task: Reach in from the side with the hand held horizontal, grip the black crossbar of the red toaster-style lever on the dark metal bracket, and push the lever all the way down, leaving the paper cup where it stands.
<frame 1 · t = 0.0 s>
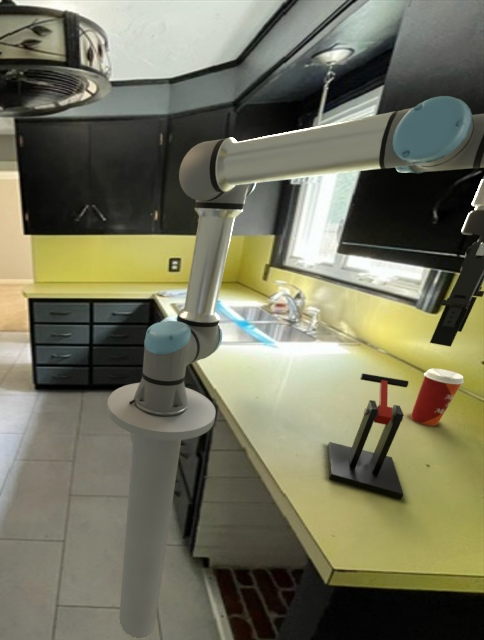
hand: (446, 336, 67), 30 cm above the worktop, tool pointing down, fingers open, 13 cm apart
lever: (383, 398, 76), point 16 cm above the worktop, hinge at 25.0°
paper cup: (423, 420, 99), on the worktop
bracket: (360, 470, 79), on the worktop
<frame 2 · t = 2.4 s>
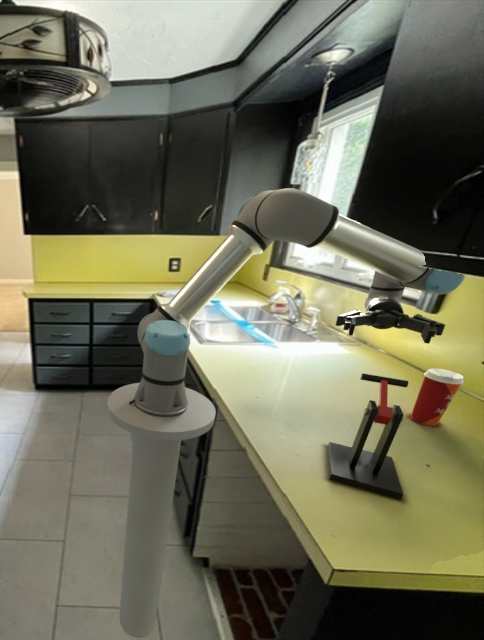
hand: (388, 333, 81), 27 cm above the worktop, tool horizontal, fingers open, 13 cm apart
nothing on the worktop moved.
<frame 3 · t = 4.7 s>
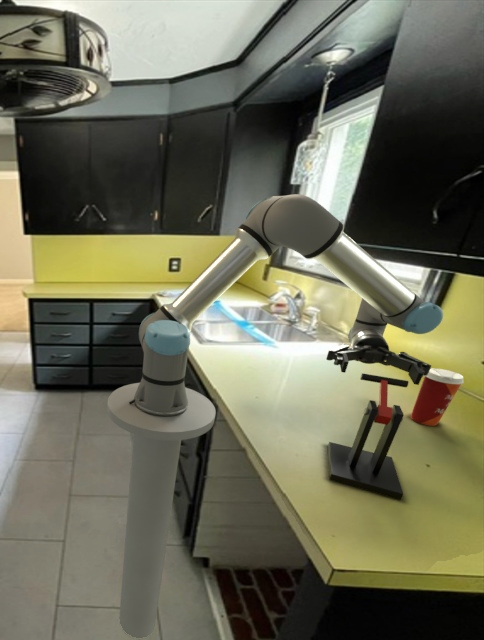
hand: (380, 372, 83), 18 cm above the worktop, tool horizontal, fingers open, 13 cm apart
nothing on the worktop moved.
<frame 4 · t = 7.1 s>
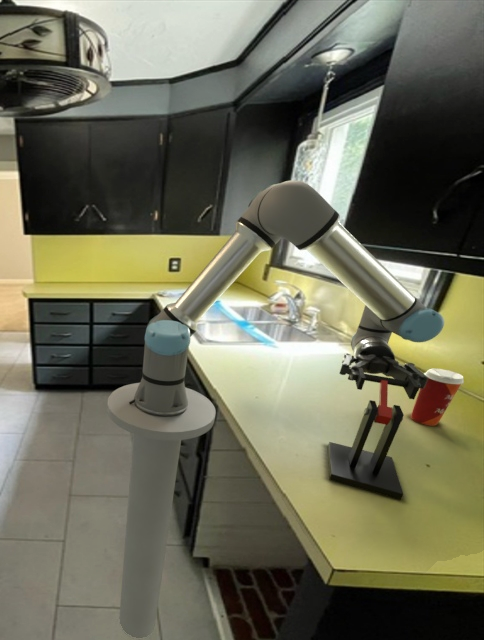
hand: (387, 388, 75), 18 cm above the worktop, tool horizontal, fingers closed on lever, 8 cm apart
lever: (383, 398, 76), point 16 cm above the worktop, hinge at 25.0°, touching gripper
everything else where it was.
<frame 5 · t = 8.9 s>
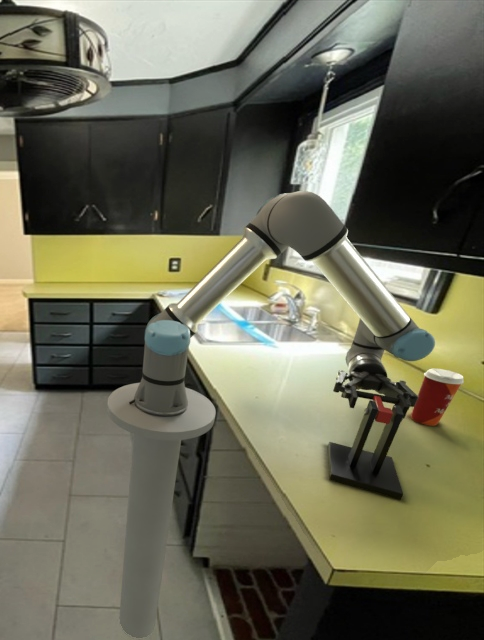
hand: (378, 407, 78), 13 cm above the worktop, tool horizontal, fingers closed on lever, 8 cm apart
lever: (379, 406, 77), point 14 cm above the worktop, hinge at -1.9°, touching gripper
everything else where it was.
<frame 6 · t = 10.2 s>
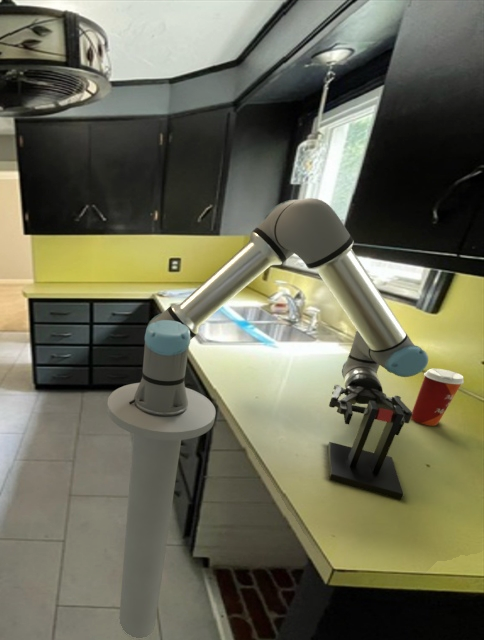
hand: (373, 424, 78), 10 cm above the worktop, tool horizontal, fingers closed on lever, 8 cm apart
lever: (377, 413, 77), point 12 cm above the worktop, hinge at -22.0°, touching gripper
everything else where it was.
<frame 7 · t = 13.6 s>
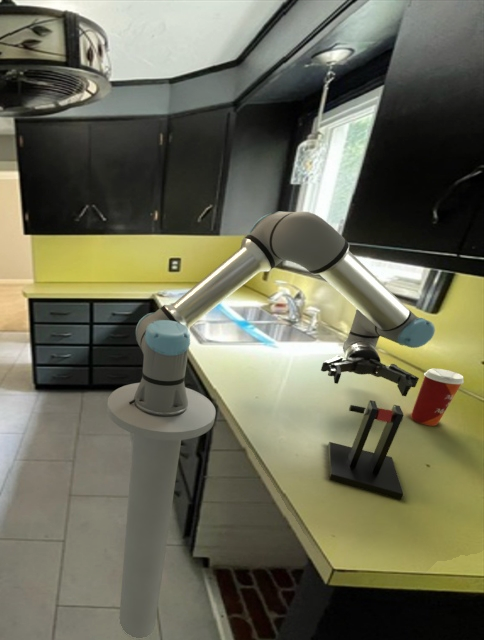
hand: (370, 384, 88), 13 cm above the worktop, tool horizontal, fingers open, 13 cm apart
lever: (377, 413, 77), point 12 cm above the worktop, hinge at -22.3°
everything else where it was.
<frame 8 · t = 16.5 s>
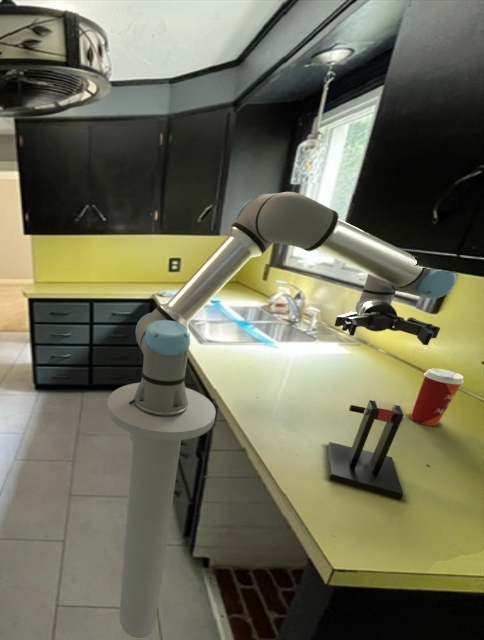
hand: (389, 334, 83), 26 cm above the worktop, tool horizontal, fingers open, 13 cm apart
nothing on the worktop moved.
at the end: lever at -22° (first picture: +25°); paper cup moved 0.2 cm from its start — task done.
